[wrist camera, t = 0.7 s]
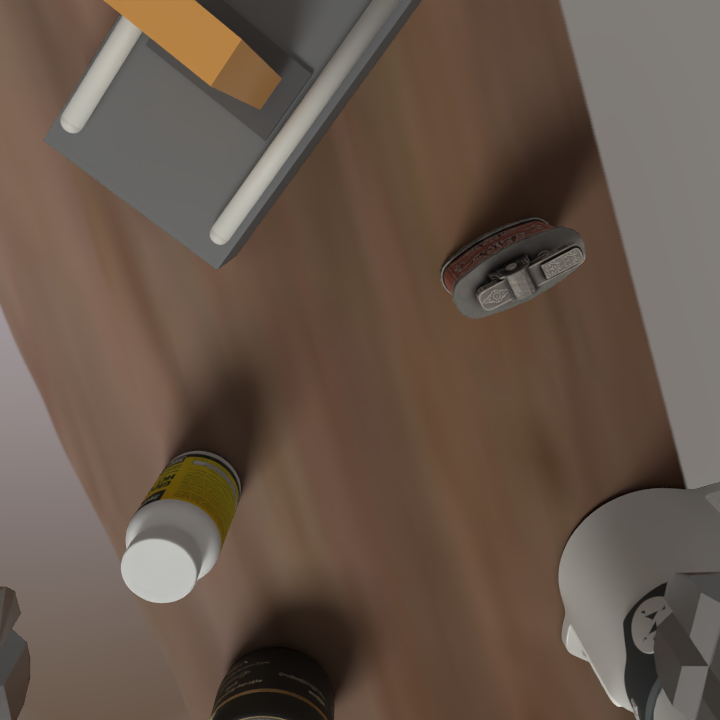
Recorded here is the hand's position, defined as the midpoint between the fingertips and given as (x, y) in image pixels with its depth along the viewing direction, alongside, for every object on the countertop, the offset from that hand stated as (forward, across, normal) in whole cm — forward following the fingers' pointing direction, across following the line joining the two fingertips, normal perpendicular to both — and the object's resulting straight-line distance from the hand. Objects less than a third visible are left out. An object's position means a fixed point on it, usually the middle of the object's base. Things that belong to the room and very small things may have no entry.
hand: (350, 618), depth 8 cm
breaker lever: (+33, -6, +8) cm, 34 cm away
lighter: (+38, +11, -4) cm, 40 cm away
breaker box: (+39, -5, +8) cm, 40 cm away
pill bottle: (+38, -10, -21) cm, 44 cm away
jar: (+36, -4, -40) cm, 54 cm away
